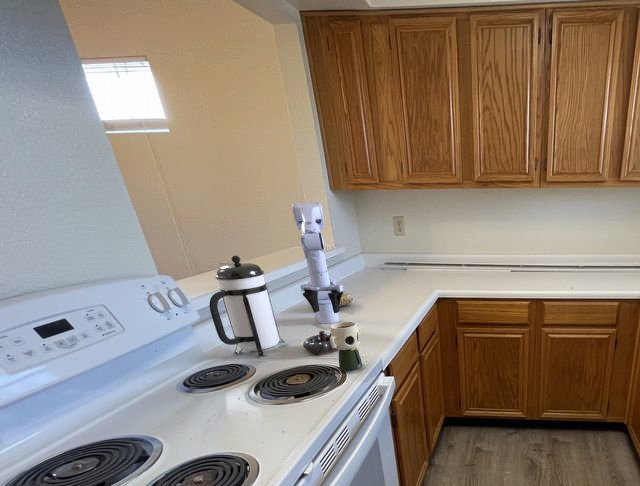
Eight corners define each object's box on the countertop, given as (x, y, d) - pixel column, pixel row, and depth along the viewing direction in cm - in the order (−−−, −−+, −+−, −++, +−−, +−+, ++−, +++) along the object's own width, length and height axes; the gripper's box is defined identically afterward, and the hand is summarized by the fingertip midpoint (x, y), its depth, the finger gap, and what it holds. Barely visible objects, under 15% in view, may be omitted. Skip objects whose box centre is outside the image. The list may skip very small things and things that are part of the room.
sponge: (339, 305, 193) (299, 306, 176) (341, 289, 190) (301, 288, 173) (358, 314, 187) (318, 316, 170) (360, 297, 184) (320, 297, 168)
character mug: (348, 377, 114) (339, 332, 108) (328, 373, 116) (318, 329, 111) (373, 363, 123) (366, 320, 117) (354, 360, 125) (346, 318, 120)
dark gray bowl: (297, 347, 134) (295, 339, 133) (332, 337, 142) (330, 330, 141) (316, 355, 127) (314, 347, 126) (351, 344, 135) (349, 336, 134)
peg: (307, 350, 135) (303, 332, 132) (330, 343, 140) (327, 326, 138) (319, 355, 130) (315, 337, 127) (342, 348, 135) (339, 330, 133)
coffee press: (234, 346, 139) (206, 255, 127) (287, 339, 145) (264, 250, 133) (226, 364, 125) (193, 262, 113) (285, 355, 130) (259, 257, 118)
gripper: (291, 273, 134) (300, 314, 139) (331, 274, 131) (339, 316, 137) (304, 269, 140) (313, 309, 146) (343, 270, 137) (350, 310, 143)
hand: (326, 312), depth 142 cm, fingers open, 7 cm apart
